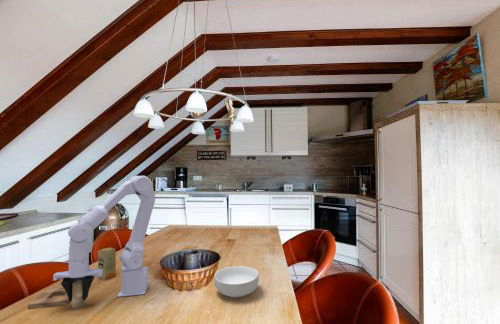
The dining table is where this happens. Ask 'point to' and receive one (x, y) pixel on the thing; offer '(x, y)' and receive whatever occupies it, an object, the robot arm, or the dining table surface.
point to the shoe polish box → (107, 262)
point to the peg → (77, 295)
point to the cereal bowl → (236, 280)
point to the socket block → (50, 299)
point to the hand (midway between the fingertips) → (78, 299)
